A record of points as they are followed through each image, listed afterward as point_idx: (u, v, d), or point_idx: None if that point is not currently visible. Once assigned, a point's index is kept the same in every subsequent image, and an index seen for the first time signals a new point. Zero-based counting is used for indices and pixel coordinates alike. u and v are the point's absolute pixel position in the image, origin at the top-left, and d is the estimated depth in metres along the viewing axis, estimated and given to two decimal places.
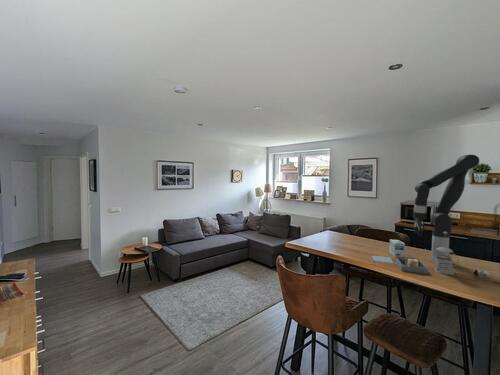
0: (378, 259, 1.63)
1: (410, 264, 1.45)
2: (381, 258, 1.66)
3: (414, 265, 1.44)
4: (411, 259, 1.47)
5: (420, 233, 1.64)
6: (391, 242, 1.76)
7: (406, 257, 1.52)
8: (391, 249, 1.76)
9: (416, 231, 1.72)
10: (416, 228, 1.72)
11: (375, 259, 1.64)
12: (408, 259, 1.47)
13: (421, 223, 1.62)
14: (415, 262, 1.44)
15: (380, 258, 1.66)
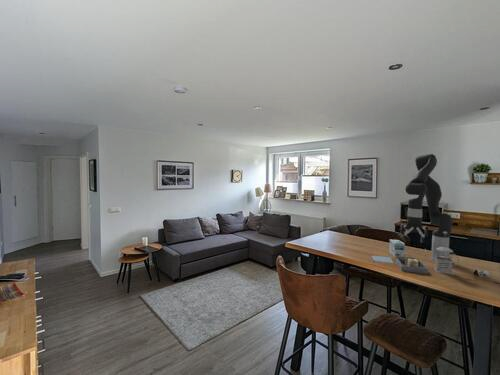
0: (378, 259, 1.63)
1: (410, 264, 1.45)
2: (381, 258, 1.66)
3: (414, 265, 1.44)
4: (411, 259, 1.47)
5: (423, 240, 1.44)
6: (391, 242, 1.76)
7: (406, 257, 1.52)
8: (391, 249, 1.76)
9: None
10: None
11: (375, 259, 1.64)
12: (408, 259, 1.47)
13: None
14: (415, 262, 1.44)
15: (380, 258, 1.66)
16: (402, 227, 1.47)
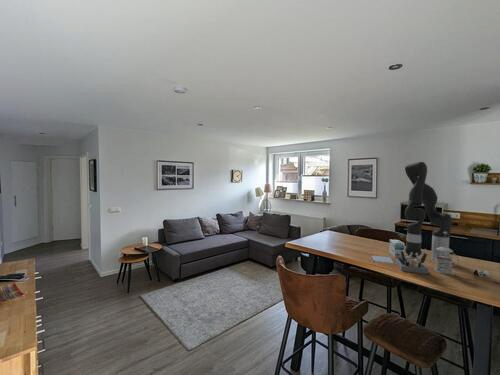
0: (378, 259, 1.63)
1: (410, 264, 1.45)
2: (381, 258, 1.66)
3: (414, 265, 1.44)
4: (411, 259, 1.47)
5: (419, 266, 1.45)
6: (391, 242, 1.76)
7: None
8: (391, 249, 1.76)
9: None
10: (408, 262, 1.47)
11: (375, 259, 1.64)
12: None
13: None
14: (415, 262, 1.44)
15: (380, 258, 1.66)
16: (402, 253, 1.47)
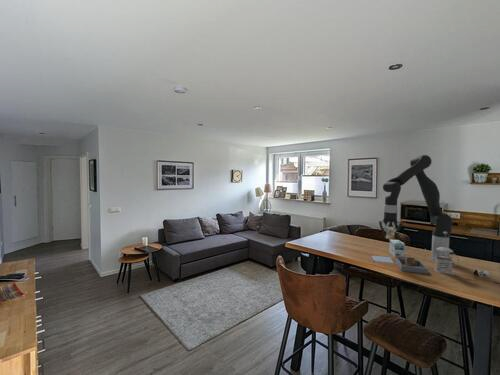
0: (378, 259, 1.63)
1: (387, 233, 1.58)
2: (381, 258, 1.66)
3: (391, 233, 1.57)
4: None
5: (395, 234, 1.58)
6: (391, 242, 1.76)
7: (406, 257, 1.52)
8: (391, 249, 1.76)
9: None
10: None
11: (375, 259, 1.64)
12: (386, 229, 1.60)
13: None
14: (392, 231, 1.57)
15: (380, 258, 1.66)
16: (380, 223, 1.60)
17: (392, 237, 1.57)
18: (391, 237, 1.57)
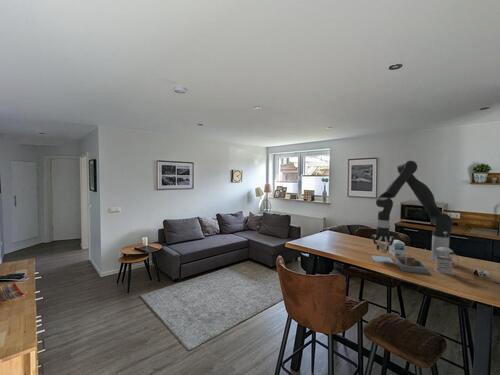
0: (378, 259, 1.63)
1: (380, 247, 1.63)
2: (381, 258, 1.66)
3: (383, 247, 1.62)
4: (381, 242, 1.65)
5: None
6: None
7: (406, 257, 1.52)
8: (391, 249, 1.76)
9: (378, 248, 1.66)
10: (378, 245, 1.65)
11: (375, 259, 1.64)
12: None
13: None
14: (384, 245, 1.62)
15: (380, 258, 1.66)
16: (373, 238, 1.65)
17: (385, 251, 1.62)
18: (384, 251, 1.62)
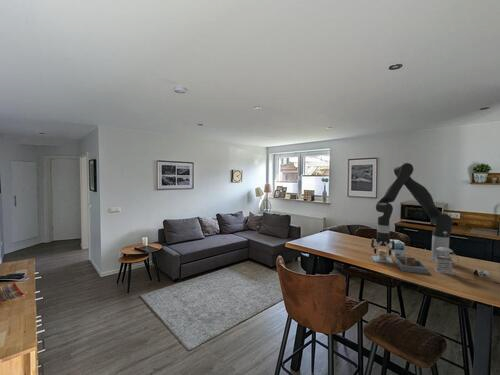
0: (378, 259, 1.63)
1: (380, 254, 1.63)
2: None
3: (383, 255, 1.63)
4: (381, 250, 1.65)
5: None
6: None
7: (406, 257, 1.52)
8: None
9: None
10: None
11: (375, 259, 1.64)
12: (378, 250, 1.66)
13: None
14: (384, 252, 1.62)
15: None
16: (372, 241, 1.66)
17: (384, 258, 1.62)
18: (383, 258, 1.63)
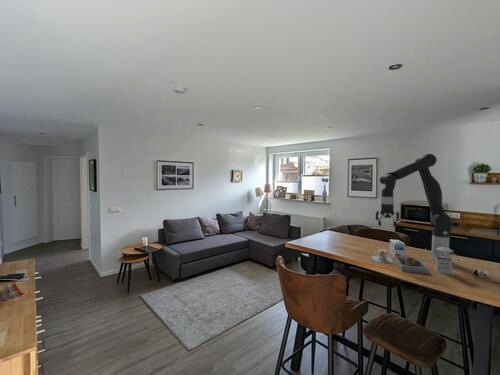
0: (378, 259, 1.63)
1: (380, 254, 1.63)
2: None
3: (383, 255, 1.63)
4: (381, 250, 1.65)
5: (395, 224, 1.63)
6: (391, 242, 1.76)
7: (406, 257, 1.52)
8: (391, 249, 1.76)
9: (380, 224, 1.67)
10: (380, 221, 1.67)
11: (375, 259, 1.64)
12: (378, 250, 1.66)
13: None
14: (384, 252, 1.62)
15: None
16: (377, 213, 1.66)
17: (384, 258, 1.62)
18: (383, 258, 1.63)
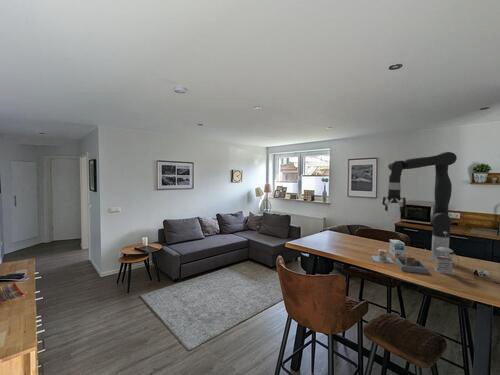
0: (378, 259, 1.63)
1: (380, 254, 1.63)
2: None
3: (383, 255, 1.63)
4: (381, 250, 1.65)
5: None
6: (391, 242, 1.76)
7: (406, 257, 1.52)
8: (391, 249, 1.76)
9: None
10: (387, 206, 1.71)
11: (375, 259, 1.64)
12: (378, 250, 1.66)
13: None
14: (384, 252, 1.62)
15: None
16: (384, 199, 1.71)
17: (384, 258, 1.62)
18: (383, 258, 1.63)
